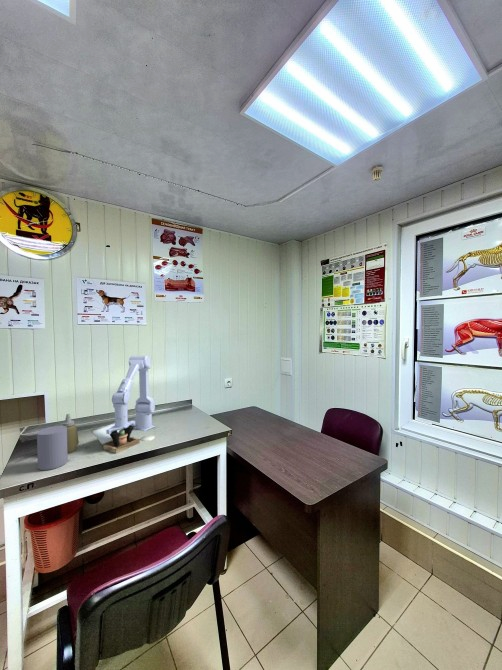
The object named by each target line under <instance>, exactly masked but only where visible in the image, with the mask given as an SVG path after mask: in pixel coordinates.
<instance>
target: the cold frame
mask: <svg viewBox="0 0 502 670" xmlns="http://www.w3.org/2000/svg"><path fill="white" fill-rule="evenodd" d="M140 441H141V438H137V437H134V436H130V438H129V442H127V444H125V445H122V446H120V447H118V448H117V446H114V442H113V440H111V441H109V442H106V443H104V444H103V445H102V450H104V451H107V452H111V453H114V454H118V453H120V452H123V451H125V450H128V449H129V448H132V447H134V446H136V445H138V444H140V443H141V442H140Z"/></svg>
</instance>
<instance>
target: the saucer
mask: <svg viewBox="0 0 502 670" xmlns="http://www.w3.org/2000/svg"><path fill="white" fill-rule="evenodd" d="M155 437H156V436H155V435H152V434H150V435H149V434H148V435H144V436H142V437H141V438H140V441H142V442H149V441H152V440H154V439H155Z"/></svg>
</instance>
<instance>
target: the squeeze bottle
mask: <svg viewBox="0 0 502 670" xmlns="http://www.w3.org/2000/svg"><path fill="white" fill-rule="evenodd" d="M61 426H66V427H67V454H72V453H74V452H75V451H77V448H78V446H79V442H80V441H79V433H78V427H77V425H76V424H75V420H72V418H71V415H70V413H67V414H66V415H65V421H63V422H62V423H61Z"/></svg>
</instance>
